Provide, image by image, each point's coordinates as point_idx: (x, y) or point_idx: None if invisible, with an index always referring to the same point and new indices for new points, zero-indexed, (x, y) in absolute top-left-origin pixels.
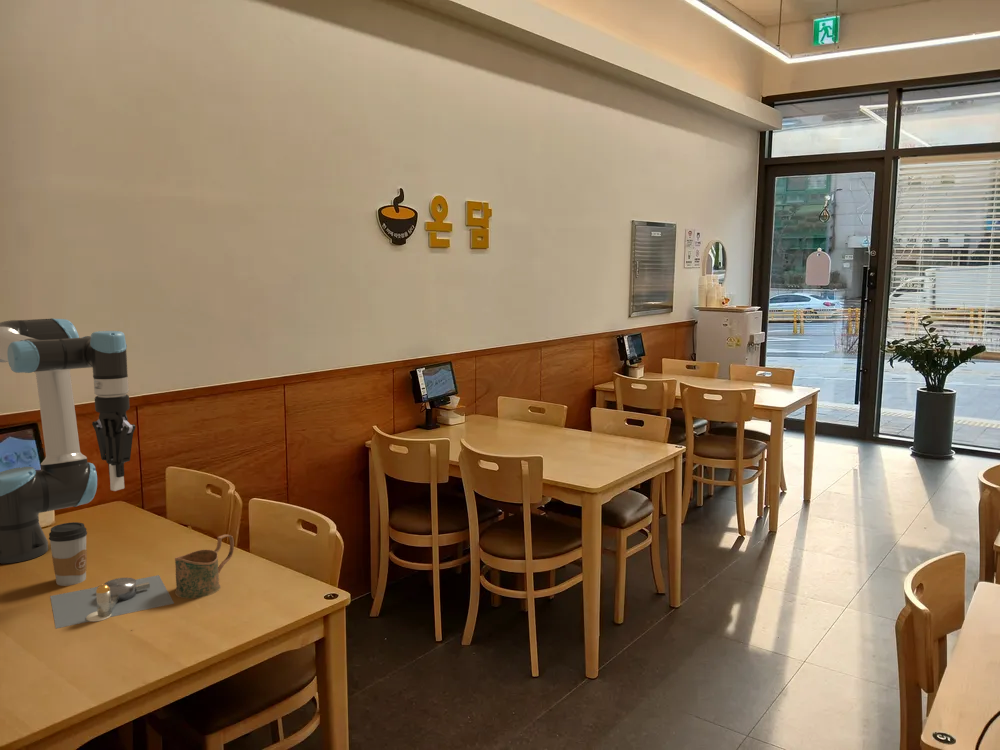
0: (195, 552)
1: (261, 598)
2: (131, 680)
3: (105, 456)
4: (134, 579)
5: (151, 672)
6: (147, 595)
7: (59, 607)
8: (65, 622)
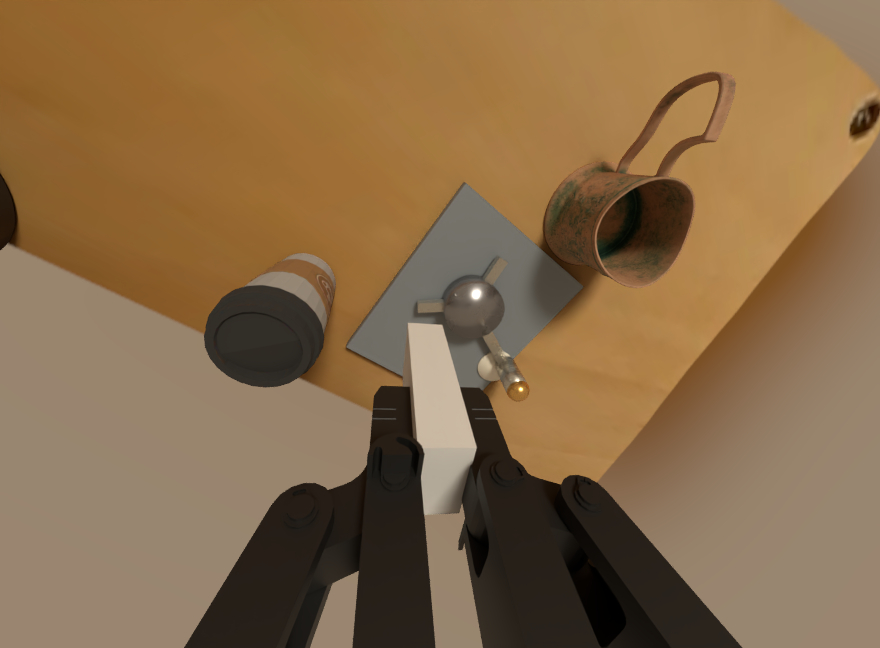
0: (621, 195)
1: (722, 186)
2: (626, 429)
3: (330, 584)
4: (489, 287)
5: (639, 413)
6: (515, 279)
7: None
8: None
